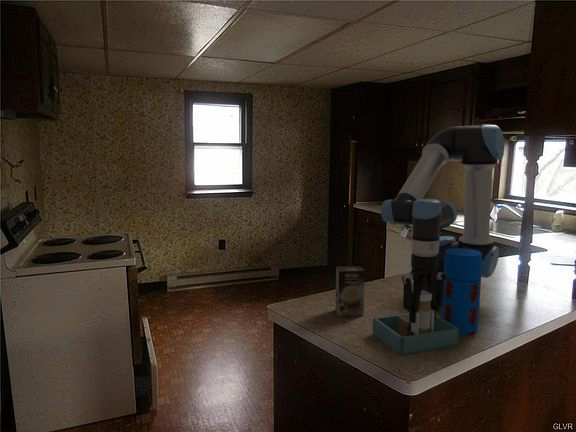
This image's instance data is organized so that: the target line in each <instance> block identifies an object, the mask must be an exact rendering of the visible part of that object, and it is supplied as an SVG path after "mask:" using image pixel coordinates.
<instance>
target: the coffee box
mask: <svg viewBox="0 0 576 432" xmlns="http://www.w3.org/2000/svg"><path fill="white" fill-rule="evenodd" d="M335 271H336V272H335V275H336V276H335V312H336V314H337V316H340V317H347V316H348V317H349V316H350V317H352V316H353V317H354V316H357V317H358V316H365V315H364V312H365V311H364V310H365V307H364V306H365V276H366V275H365V269H364V268H363V267H362V266H336V270H335Z"/></svg>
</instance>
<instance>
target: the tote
mask: <svg viewBox="0 0 576 432" xmlns="http://www.w3.org/2000/svg"><path fill="white" fill-rule="evenodd" d="M409 314H410V312H405V313H399V314H393V315H386V316H380V317H373V319H372V334H373V335H374V336H375V337H377V338H378V339H379V340H381V341H382V342H383V343H384V344H386V345H387V346H388V347H389V348H390V349H391V350H393V351H395V353H397V354H398V356H407V355H412V354H418V353H424V352H430V351H433V350H434V351H435V350H439V349H445V348H451V347H456V346H460V342H461V341H460V337H461V335H460V329H459V328H458V327H456V326H454V325H452V324H450V323H449V322H447V321H445V320H443V319H442V317H440V316H438V315H436V319H435V320H434V332H430V333H424V334H418V335H412V336H406V337H404V336H403V335H402V334H400V333H399V332H397V324H398V316H402V315H409Z"/></svg>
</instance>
